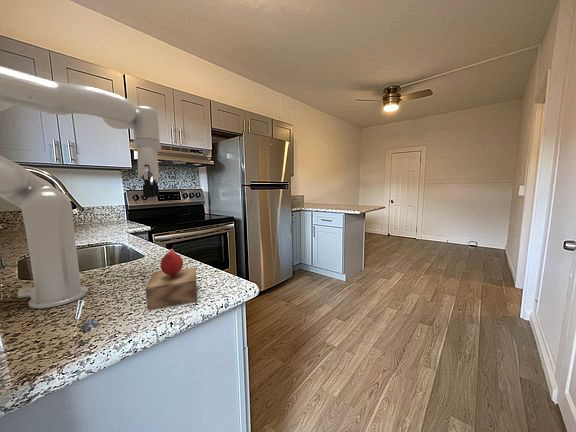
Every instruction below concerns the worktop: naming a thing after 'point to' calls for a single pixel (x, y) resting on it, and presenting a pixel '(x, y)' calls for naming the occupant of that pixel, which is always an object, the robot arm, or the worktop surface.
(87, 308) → the worktop surface
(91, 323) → the blueberries
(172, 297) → the walnut block
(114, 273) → the worktop surface
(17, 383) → the worktop surface
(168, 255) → the onion
